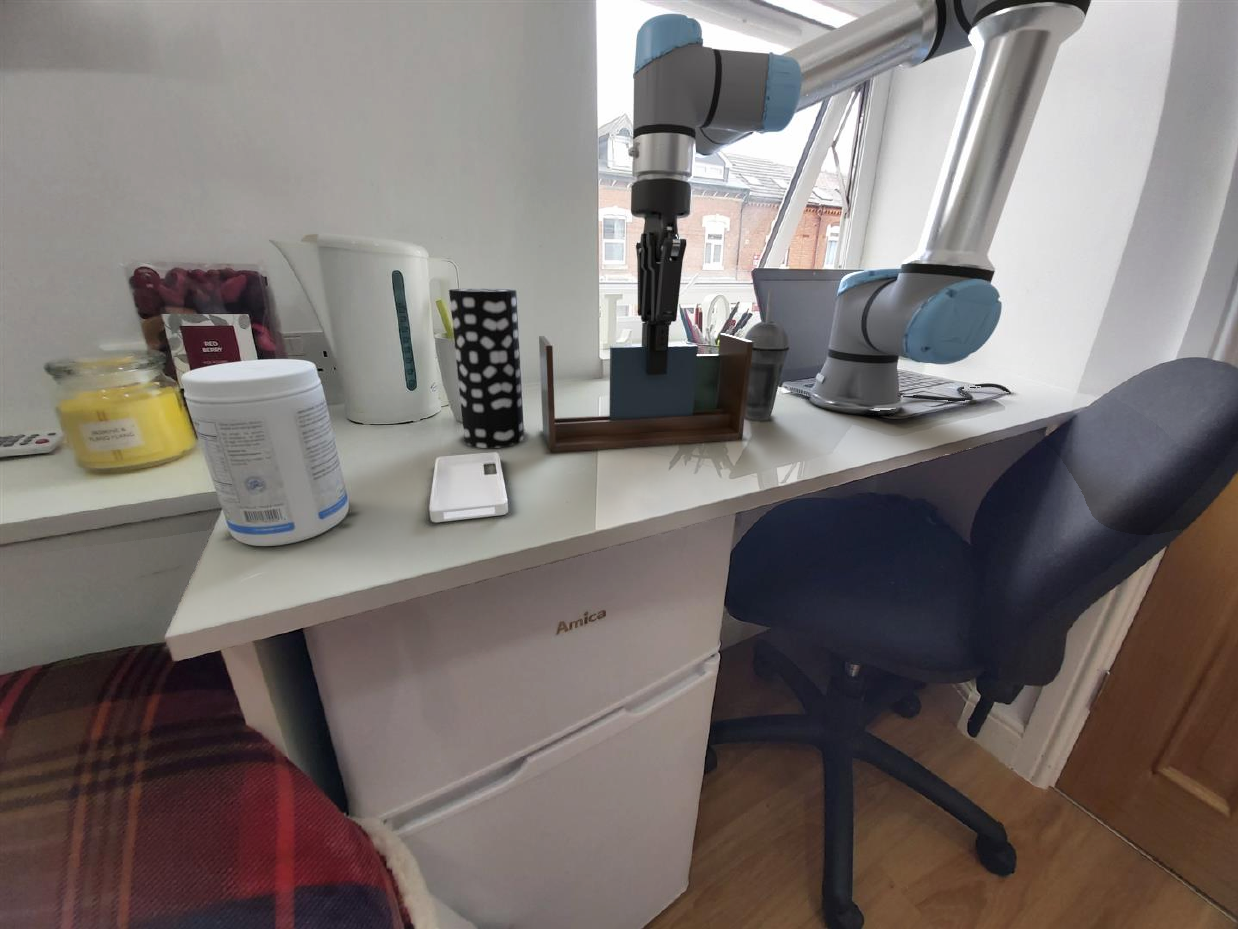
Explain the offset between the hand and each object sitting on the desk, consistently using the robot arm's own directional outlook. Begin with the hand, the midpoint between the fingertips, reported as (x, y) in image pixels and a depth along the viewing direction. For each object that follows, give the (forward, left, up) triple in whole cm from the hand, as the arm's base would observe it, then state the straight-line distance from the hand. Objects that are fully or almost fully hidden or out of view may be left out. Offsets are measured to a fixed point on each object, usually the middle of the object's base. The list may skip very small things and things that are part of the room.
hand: (653, 371), depth 70 cm
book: (0, 0, -8) cm, 8 cm away
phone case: (+25, +14, -10) cm, 31 cm away
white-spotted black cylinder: (+22, -3, -10) cm, 25 cm away
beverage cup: (-21, -6, -10) cm, 24 cm away
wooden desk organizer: (+1, 0, -9) cm, 10 cm away
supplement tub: (+41, +19, -10) cm, 46 cm away
